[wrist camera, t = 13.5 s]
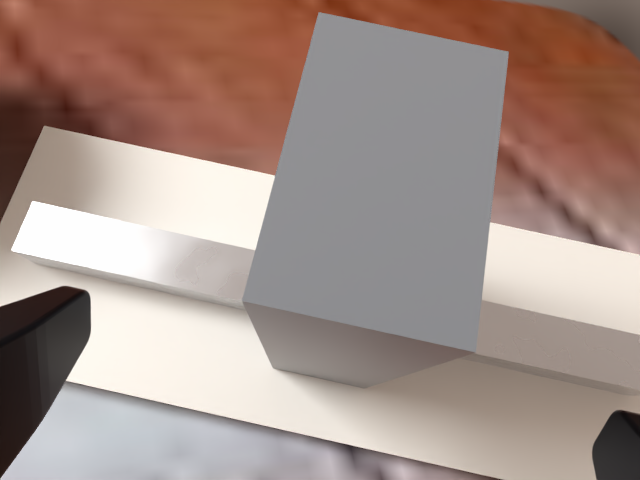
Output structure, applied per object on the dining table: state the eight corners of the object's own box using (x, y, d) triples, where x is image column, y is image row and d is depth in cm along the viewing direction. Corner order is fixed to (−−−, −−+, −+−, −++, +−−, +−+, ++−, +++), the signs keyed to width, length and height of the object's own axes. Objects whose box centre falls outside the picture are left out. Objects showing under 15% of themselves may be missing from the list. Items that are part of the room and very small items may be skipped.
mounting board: (662, 514, 20) (681, 519, 19) (-42, 355, 20) (-59, 352, 19) (660, 269, 23) (676, 262, 22) (54, 137, 23) (44, 125, 22)
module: (367, 389, 19) (482, 354, 8) (272, 367, 20) (241, 300, 8) (390, 252, 21) (514, 53, 9) (304, 233, 21) (318, 11, 10)
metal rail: (628, 395, 20) (659, 394, 18) (35, 263, 20) (11, 250, 19) (629, 345, 21) (659, 339, 19) (54, 218, 21) (32, 201, 19)
